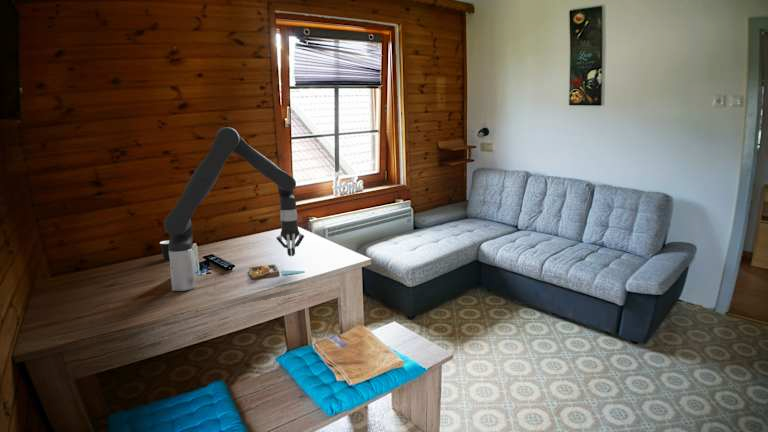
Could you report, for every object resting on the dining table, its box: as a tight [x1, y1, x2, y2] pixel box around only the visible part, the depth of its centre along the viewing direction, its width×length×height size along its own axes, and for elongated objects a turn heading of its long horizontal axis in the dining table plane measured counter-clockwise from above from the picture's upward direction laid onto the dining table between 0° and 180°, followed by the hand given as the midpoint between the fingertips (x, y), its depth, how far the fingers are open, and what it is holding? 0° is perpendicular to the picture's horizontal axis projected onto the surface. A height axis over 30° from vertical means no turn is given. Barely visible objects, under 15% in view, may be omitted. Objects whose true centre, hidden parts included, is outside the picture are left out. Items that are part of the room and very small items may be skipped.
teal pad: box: [280, 269, 305, 277], centre depth 205 cm, size 10×10×1 cm
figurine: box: [249, 265, 271, 277], centre depth 196 cm, size 8×6×12 cm
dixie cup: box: [159, 239, 170, 262], centre depth 229 cm, size 8×8×11 cm
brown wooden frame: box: [248, 264, 280, 280], centre depth 202 cm, size 12×14×2 cm
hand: (291, 255), depth 204 cm, fingers closed
